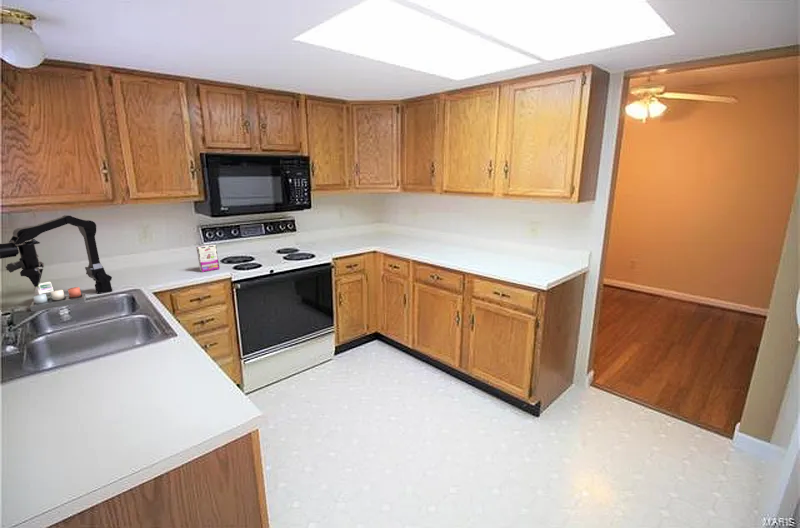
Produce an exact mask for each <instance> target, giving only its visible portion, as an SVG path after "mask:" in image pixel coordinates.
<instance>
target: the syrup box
mask: <svg viewBox="0 0 800 528" xmlns="http://www.w3.org/2000/svg"><path fill="white" fill-rule="evenodd" d="M33 289H34V290H33V291H34V296H35V295H39V294H46V296H47V299H49V298H52V296H51V292H52V291H55V290H54V287H53V285H52V282H51V281H46V282H40V283H39V285H38V287H34V288H33Z"/></svg>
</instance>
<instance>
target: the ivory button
mask: <svg viewBox="0 0 800 528" xmlns="http://www.w3.org/2000/svg"><path fill="white" fill-rule="evenodd" d="M51 296H52V297H51V298H52V299H53V300H61V299H64V298H65V296H66V295H65V293H64V290H63V289H55V290H54V291H52V292H51Z"/></svg>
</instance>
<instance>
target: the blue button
mask: <svg viewBox="0 0 800 528" xmlns="http://www.w3.org/2000/svg"><path fill="white" fill-rule="evenodd" d="M32 298H33V301H34V302H35V304H41V303H48V300H47V299H48V298H47V296H46V294H39V295H35V294H34V295H33V297H32Z"/></svg>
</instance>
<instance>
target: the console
mask: <svg viewBox="0 0 800 528" xmlns="http://www.w3.org/2000/svg"><path fill="white" fill-rule="evenodd" d="M64 296H65V298H64V299H61V300H53V299H52V297H51V298H47V300H48V303H41V304H35V302H34V300H32V303H31V304H30V306H29V309H30V311H31V312H36V311H43V310H49V309H53V308H60V307H67V306H71V305H72V306H73V305H79V304H84V303H86V299H87V296H86V292H81V296H79V297H73V298H70V296H69V294H68V295H64Z"/></svg>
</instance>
